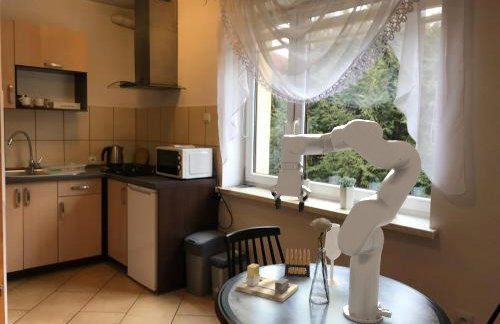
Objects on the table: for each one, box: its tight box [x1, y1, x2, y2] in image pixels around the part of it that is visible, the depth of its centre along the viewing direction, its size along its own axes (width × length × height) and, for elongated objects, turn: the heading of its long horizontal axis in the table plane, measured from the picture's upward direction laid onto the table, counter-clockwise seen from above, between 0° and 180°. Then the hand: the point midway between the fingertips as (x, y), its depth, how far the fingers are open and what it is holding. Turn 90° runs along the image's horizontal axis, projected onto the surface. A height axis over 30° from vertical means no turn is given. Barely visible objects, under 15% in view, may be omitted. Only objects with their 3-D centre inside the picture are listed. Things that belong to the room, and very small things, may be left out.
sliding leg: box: [245, 263, 262, 286], centre depth 154 cm, size 3×8×7 cm, turn 150°
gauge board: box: [235, 276, 299, 303], centre depth 152 cm, size 20×14×6 cm
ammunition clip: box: [284, 247, 311, 278], centre depth 167 cm, size 11×2×12 cm, turn 84°
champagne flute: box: [324, 223, 342, 287], centre depth 159 cm, size 7×7×24 cm
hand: (289, 210), depth 154 cm, fingers open, 9 cm apart
